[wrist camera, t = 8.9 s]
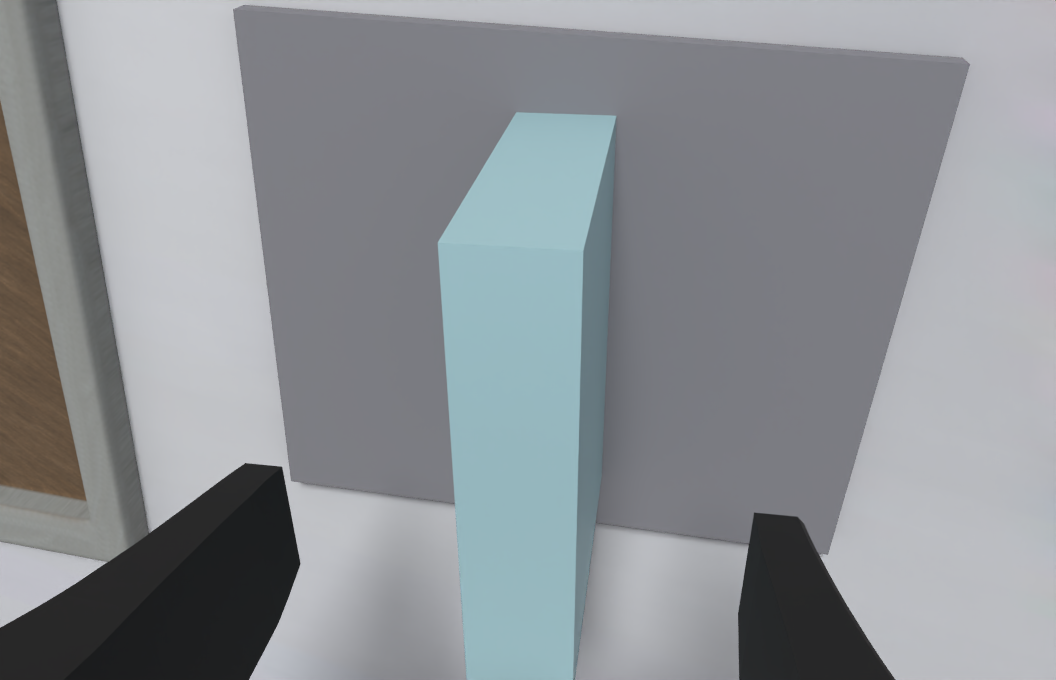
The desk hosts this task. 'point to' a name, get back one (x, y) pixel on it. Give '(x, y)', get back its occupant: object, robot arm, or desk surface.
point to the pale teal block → (529, 388)
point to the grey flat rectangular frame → (55, 317)
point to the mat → (636, 246)
